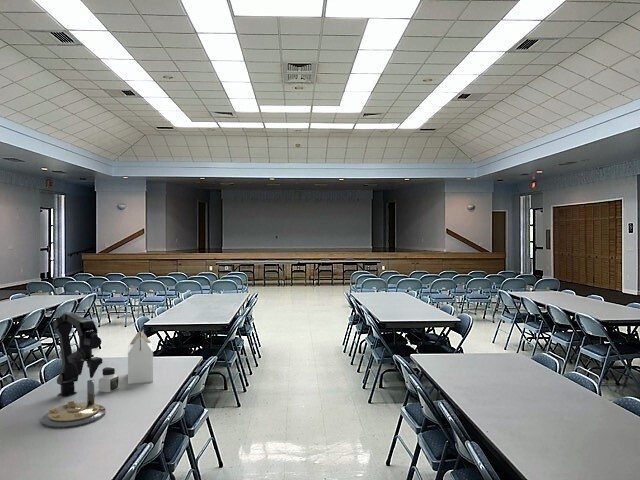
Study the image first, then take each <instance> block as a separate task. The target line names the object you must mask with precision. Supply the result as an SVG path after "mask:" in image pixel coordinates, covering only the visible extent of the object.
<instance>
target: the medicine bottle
mask: <svg viewBox="0 0 640 480" xmlns="http://www.w3.org/2000/svg"><path fill="white" fill-rule="evenodd" d="M118 389H119V375H117V374H116V368H115V367H113V366H106V367H104V368H103V369H102V376H101V377H99V378H98V392H103V393H112V392H114V391H116V390H118Z"/></svg>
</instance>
